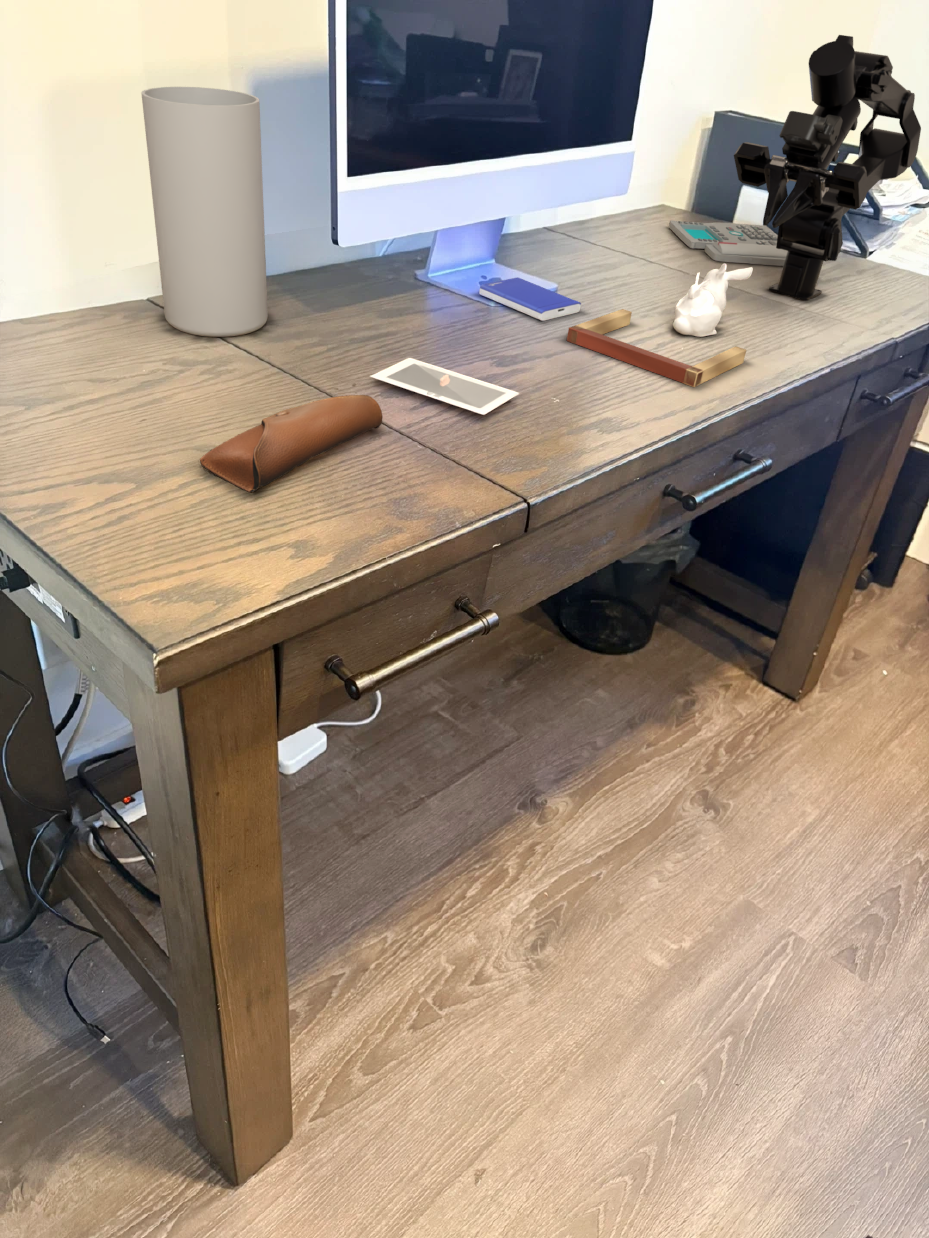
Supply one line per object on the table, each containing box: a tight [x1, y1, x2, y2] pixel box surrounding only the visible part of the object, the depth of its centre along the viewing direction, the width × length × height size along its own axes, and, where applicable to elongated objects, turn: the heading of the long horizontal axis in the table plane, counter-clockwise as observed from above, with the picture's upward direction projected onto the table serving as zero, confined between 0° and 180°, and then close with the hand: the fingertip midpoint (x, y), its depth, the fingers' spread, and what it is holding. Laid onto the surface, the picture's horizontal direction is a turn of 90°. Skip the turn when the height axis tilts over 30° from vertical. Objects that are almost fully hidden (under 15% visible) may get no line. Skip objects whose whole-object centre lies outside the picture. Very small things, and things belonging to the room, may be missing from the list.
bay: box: [566, 308, 747, 388], centre depth 121 cm, size 13×19×2 cm
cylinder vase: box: [140, 86, 269, 338], centre depth 110 cm, size 12×12×25 cm
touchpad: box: [369, 357, 520, 416], centre depth 104 cm, size 8×15×2 cm, turn 58°
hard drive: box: [479, 277, 582, 322], centre depth 133 cm, size 2×8×12 cm
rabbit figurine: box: [672, 262, 754, 338], centre depth 127 cm, size 12×8×10 cm, turn 135°
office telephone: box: [668, 219, 788, 267], centre depth 170 cm, size 23×3×20 cm
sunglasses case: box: [199, 394, 383, 493], centre depth 89 cm, size 18×7×7 cm, turn 147°
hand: (768, 224), depth 131 cm, fingers closed
